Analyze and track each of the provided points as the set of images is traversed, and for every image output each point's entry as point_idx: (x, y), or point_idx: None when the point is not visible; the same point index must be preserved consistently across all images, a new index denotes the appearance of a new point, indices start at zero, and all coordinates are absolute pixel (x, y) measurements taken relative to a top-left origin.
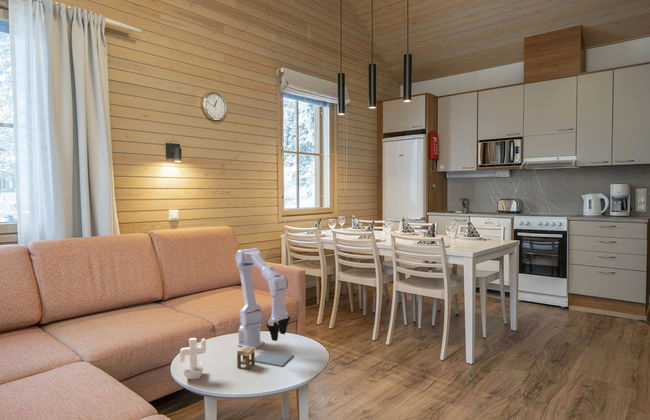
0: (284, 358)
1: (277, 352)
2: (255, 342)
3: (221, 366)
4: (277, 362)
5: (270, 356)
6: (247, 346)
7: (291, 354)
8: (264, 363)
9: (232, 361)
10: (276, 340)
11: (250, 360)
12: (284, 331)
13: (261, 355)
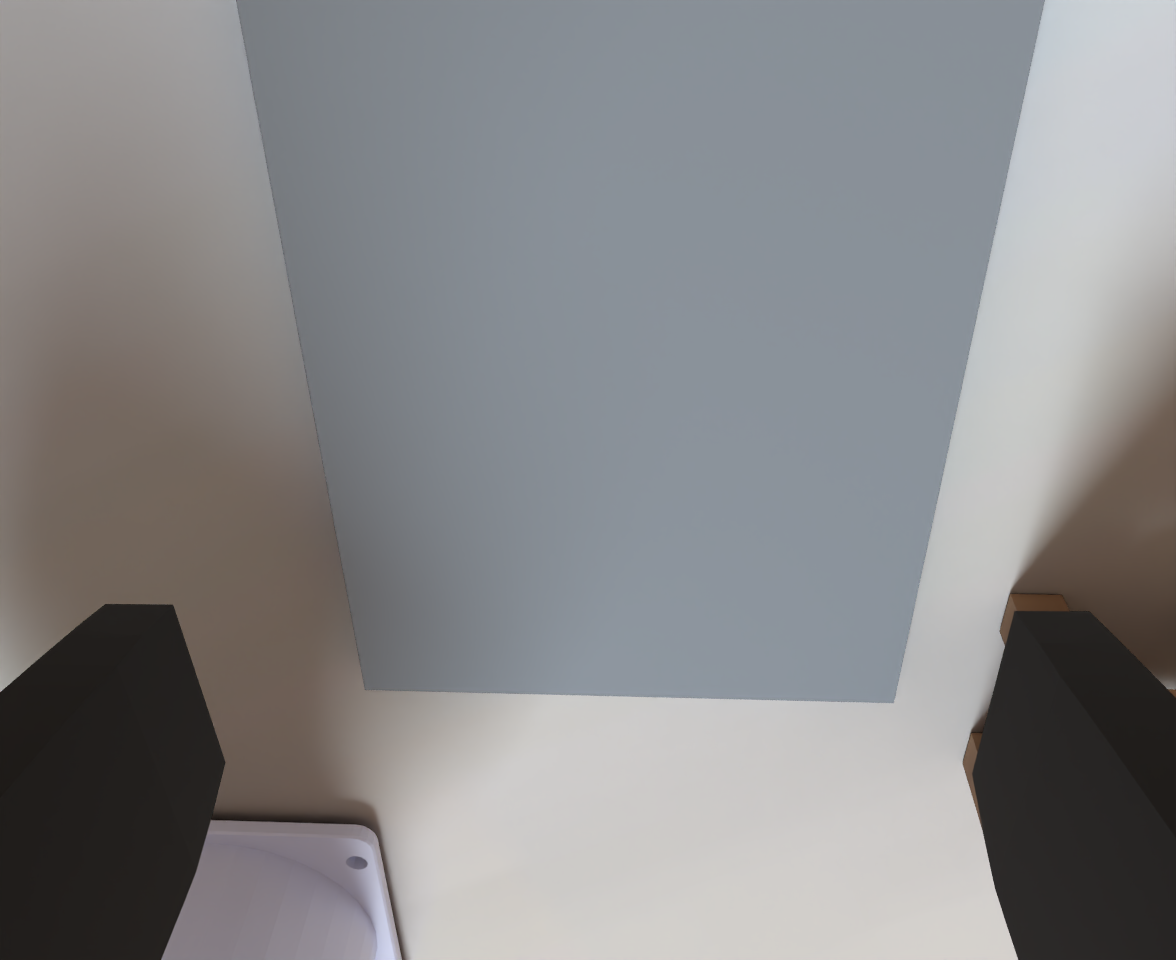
0: (581, 115)
1: (337, 435)
2: (283, 925)
3: None
4: (883, 181)
5: (606, 479)
6: (388, 939)
7: (250, 43)
8: (938, 449)
9: (955, 899)
10: (1099, 627)
11: None
12: (112, 719)
13: (631, 645)
